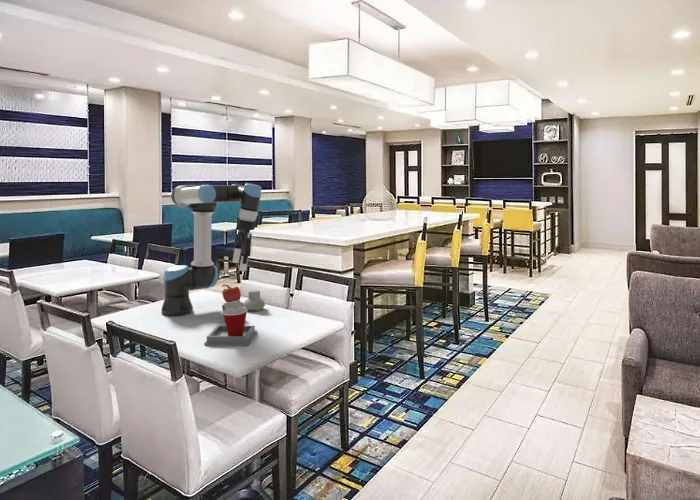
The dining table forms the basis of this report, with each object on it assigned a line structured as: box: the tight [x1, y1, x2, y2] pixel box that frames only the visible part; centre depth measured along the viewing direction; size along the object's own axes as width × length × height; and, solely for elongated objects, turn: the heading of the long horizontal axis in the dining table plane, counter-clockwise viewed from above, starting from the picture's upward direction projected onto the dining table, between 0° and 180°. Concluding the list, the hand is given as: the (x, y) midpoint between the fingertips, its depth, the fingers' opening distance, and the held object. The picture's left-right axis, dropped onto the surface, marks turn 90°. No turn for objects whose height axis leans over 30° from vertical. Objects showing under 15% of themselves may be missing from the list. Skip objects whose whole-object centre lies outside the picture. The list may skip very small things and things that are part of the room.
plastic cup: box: [221, 307, 249, 336], centre depth 208 cm, size 11×11×12 cm
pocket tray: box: [203, 324, 258, 347], centre depth 211 cm, size 18×18×4 cm
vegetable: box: [221, 284, 242, 303], centre depth 273 cm, size 11×10×10 cm
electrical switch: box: [221, 300, 243, 311], centre depth 240 cm, size 9×5×9 cm, turn 141°
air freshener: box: [243, 289, 266, 312], centre depth 259 cm, size 11×8×10 cm
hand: (238, 266), depth 218 cm, fingers open, 13 cm apart
